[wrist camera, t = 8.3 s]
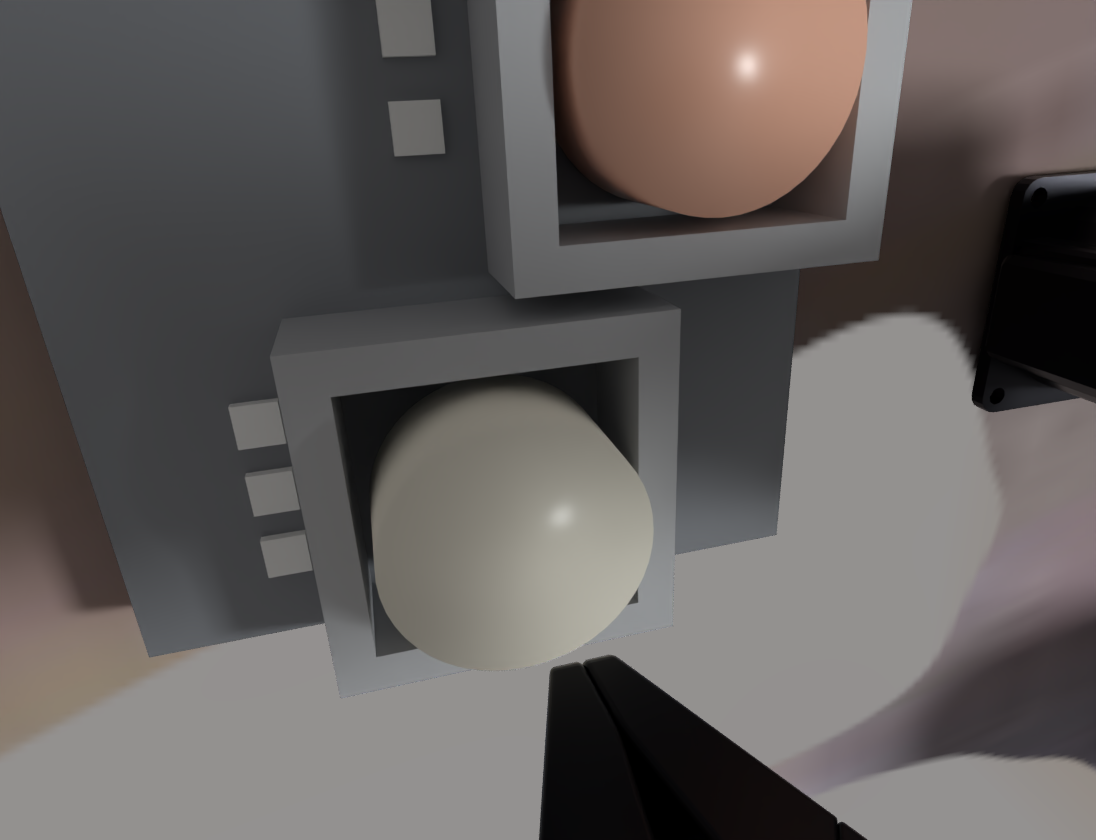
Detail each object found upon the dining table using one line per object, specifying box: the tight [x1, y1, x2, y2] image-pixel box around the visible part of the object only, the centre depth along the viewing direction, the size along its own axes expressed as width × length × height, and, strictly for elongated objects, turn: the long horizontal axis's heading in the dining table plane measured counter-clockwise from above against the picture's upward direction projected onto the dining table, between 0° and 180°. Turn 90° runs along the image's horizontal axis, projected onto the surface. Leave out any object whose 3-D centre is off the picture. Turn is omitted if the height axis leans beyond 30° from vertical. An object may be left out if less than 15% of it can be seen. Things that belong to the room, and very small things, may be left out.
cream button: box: [369, 374, 654, 671], centre depth 13 cm, size 5×5×2 cm
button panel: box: [0, 0, 912, 698], centre depth 13 cm, size 15×21×4 cm
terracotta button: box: [550, 0, 868, 218], centre depth 12 cm, size 5×5×2 cm
